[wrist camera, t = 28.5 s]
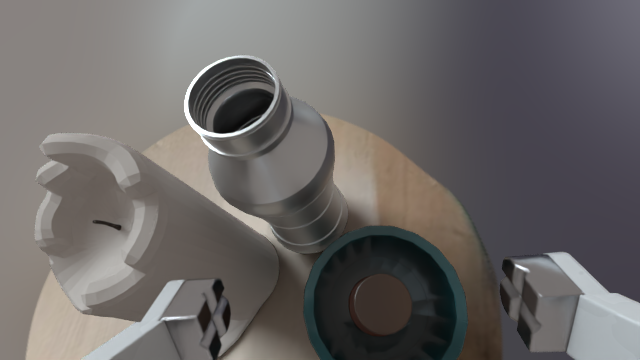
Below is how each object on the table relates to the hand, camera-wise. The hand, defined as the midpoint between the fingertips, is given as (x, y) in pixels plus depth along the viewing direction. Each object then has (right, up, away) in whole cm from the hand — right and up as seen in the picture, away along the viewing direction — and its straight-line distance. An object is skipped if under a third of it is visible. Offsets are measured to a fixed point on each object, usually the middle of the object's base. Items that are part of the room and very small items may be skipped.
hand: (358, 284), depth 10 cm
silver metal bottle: (-2, -1, +21) cm, 21 cm away
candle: (-10, -8, +20) cm, 24 cm away
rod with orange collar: (+3, -7, +17) cm, 19 cm away
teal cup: (+4, -7, +18) cm, 20 cm away
